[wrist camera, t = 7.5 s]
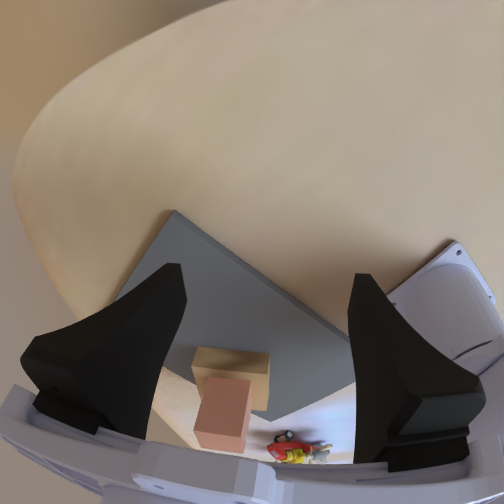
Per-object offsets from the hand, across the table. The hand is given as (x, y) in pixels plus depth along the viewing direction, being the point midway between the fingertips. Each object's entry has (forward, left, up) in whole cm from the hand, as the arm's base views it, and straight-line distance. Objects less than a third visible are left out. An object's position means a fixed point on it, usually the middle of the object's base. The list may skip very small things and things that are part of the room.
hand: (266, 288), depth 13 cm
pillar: (-9, +17, -7) cm, 20 cm away
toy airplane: (-28, +26, -10) cm, 39 cm away
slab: (-9, +17, -9) cm, 21 cm away
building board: (-7, +15, -10) cm, 19 cm away
